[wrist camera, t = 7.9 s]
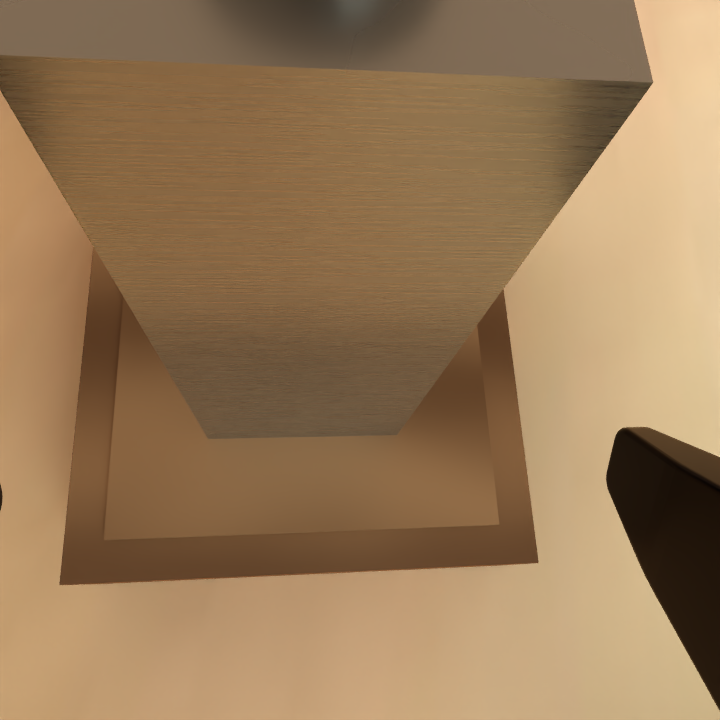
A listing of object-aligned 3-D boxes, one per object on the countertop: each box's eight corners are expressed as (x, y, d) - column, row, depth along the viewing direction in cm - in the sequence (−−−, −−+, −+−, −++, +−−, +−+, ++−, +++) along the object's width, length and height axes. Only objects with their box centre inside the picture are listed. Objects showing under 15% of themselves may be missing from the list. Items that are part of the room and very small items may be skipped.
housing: (397, 435, 17) (758, -63, 4) (208, 439, 17) (-128, -124, 3) (386, 268, 19) (616, -489, 5) (213, 267, 18) (5, -577, 5)
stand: (502, 565, 20) (541, 562, 17) (95, 584, 18) (56, 584, 15) (464, 221, 23) (490, 168, 20) (126, 216, 22) (99, 159, 19)
